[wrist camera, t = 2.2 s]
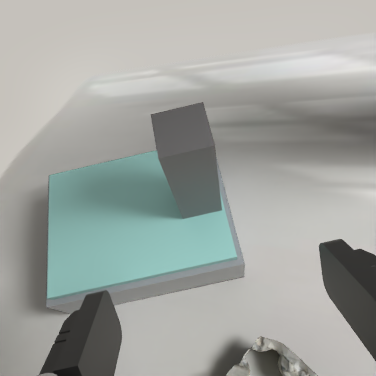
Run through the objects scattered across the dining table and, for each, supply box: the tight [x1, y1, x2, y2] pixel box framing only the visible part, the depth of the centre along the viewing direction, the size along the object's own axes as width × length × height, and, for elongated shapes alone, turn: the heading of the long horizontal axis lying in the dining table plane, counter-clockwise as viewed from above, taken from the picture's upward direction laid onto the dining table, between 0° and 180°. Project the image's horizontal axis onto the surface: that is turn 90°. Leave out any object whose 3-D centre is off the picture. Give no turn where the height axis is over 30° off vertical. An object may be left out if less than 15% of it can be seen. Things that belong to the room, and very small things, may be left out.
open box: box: [46, 159, 245, 314], centre depth 33 cm, size 17×13×5 cm
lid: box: [47, 102, 237, 300], centre depth 26 cm, size 16×12×11 cm
